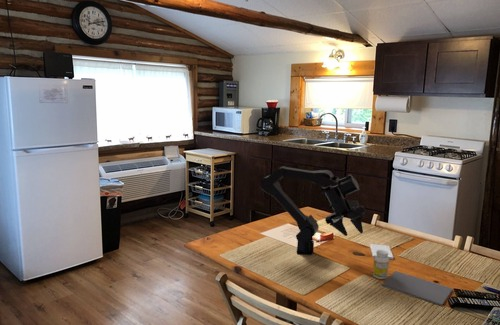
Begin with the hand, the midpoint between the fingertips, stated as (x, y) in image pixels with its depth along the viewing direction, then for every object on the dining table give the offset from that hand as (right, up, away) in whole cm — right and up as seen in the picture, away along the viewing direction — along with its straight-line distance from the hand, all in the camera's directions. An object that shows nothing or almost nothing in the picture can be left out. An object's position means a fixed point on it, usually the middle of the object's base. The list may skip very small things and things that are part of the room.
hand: (354, 234), depth 156 cm
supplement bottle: (+7, -14, -11) cm, 19 cm away
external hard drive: (+15, -11, +11) cm, 21 cm away
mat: (+17, -15, -19) cm, 30 cm away
